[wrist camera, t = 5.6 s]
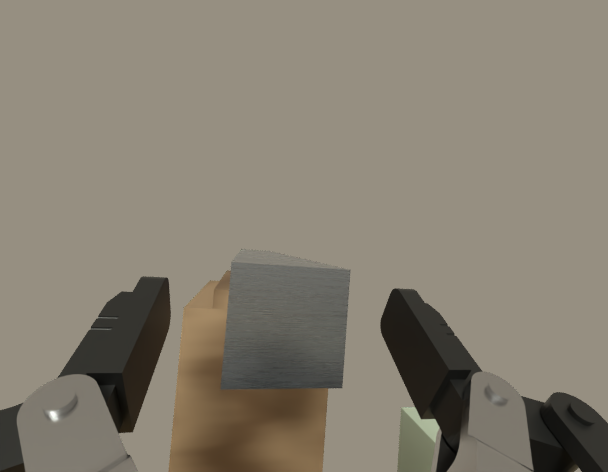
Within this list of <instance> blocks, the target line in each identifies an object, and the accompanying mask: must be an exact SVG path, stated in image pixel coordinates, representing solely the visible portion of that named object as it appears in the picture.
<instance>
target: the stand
mask: <svg viewBox="0 0 608 472" xmlns="http://www.w3.org/2000/svg"><path fill="white" fill-rule="evenodd" d="M230 275H231V271H226V273H225V274H224V276H223V277H222V279H221V280H220V281H209V282H208V283H207V284H206V285H205V286H204V288H203V289H202V290H201V291H200V292H199V293H198V294H197V295H196V296H195V297H194V298H193V299H192V300H191V301H190V302H189V303H188V304H187V305H186V306H185V307H184V313H183V323H182V334H181V344H180V355H179V365H178V376H177V387H176V398H175V408H174V419H173V429H172V441H171V450H170V462H169V472H322V468H323V453H324V438H325V426H326V412H327V397H328V388H309V389H234V390H220V389H221V377H222V366H223V354H224V343H225V332H226V320H227V309H228V297H229V286H230Z"/></svg>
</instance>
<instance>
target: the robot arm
mask: <svg viewBox="0 0 608 472" xmlns="http://www.w3.org/2000/svg"><path fill="white" fill-rule="evenodd" d="M170 314H171V311H170V294H169V282H168V278H162V277H161V278H160V277H141V278H140V280H139V282H138V283H137V285H136V287H135V289H134V290H133V292H121V293H119V294H118V295H117V296H115V297H114V298H113V299H111V300H110V301H109V302H107V304H106V305H105V306H104V308H103V310H102V311H101V313H100V314H99V316H98V319H96V320H95V322H94V323H93V325H92V326H91V330H89V331H88V332H87V334H86V336H85V337H84V338H83V340H82V342H81V343H80V345H79V346H78V348H77V349H76V351H75V352H74V354H73V355H72V357H71V358H70V360H69V361H68V363H67V364H66V366H65V367H64V369H63V370H62V372H61V374H60V375H59V376H58V378H57V379H54V380H52V381H50V382H48V383H46V384H44V385H43V386H41V387H40V388H39V389H37V390H36V391H35V392H33V393H32V394H31V395H30V396H29V397H28V398H27V399H26V400H25V402H24V403H22V404H19V405H16V406H14V407H11V408H7V409H4V410H0V472H138V470H137V468H136V466H135V464H134V462H133V460H132V458H131V456H130V455H128V454H127V453H126V451H125V448H124V446H123V443H122V441H121V439H120V436H119V433H125V432H133V430H134V427H135V424H136V421H137V418H138V416H139V412H140V409H141V407H142V404H143V401H144V398H145V395H146V393H147V390H148V387H149V384H150V381H151V378H152V375H153V373H154V370H155V367H156V364H157V361H158V358H159V356H160V353H161V350H162V347H163V344H164V341H165V339H166V336H167V333H168V329H169V325H170V317H171V315H170ZM381 333H382V336H383V338H384V340H385V342H386V344H387V347H388V349H389V351H390V353H391V355H392V358H393V360H394V362H395V364H396V366H397V368H398V371H399V373H400V375H401V377H402V379H403V381H404V384H405V386H406V388H407V390H408V392H409V395H410V397H411V399H412V401H413V403H414V405H415V408H416V410H417V412H418V414H419V416H420V418H421V419H435V420H436V422H437V424H438V426H439V430H438V432H437V436H436V442H435V449H434V455H433V461H432V468H431V472H574V471H575V470H577V469H578V468H580V470H581V471H582V472H608V423H607V422H606V421H605V420H604V419H603V418H602V417H601V416H600V415H599V414H598V413H597V412H596V411H595V410H594V409H592V408H591V407H590V406H589V405H587V404H586V403H584V402H583V401H581V400H579V399H578V398H576V397H574V396H571V395H569V394H566V393H560V392H559V393H558V392H557V393H553V394H552V395H551V396H550V397H549V398H548V400H547V401H546V402H545V403H543V402H540V401H536V400H533V399H529V398H526V397H523V396H520V394H519V393H518V392H517V391H516V390H515V389H514V387H512V386H511V385H510V384H509V383H508V382H506V381H505V380H503V379H502V378H500V377H498V376H496V375H494V374H491V373H488V372H482V370H481V369H480V368H479V367H478V365H477V364H476V362H475V361H474V360H473V358H472V357H471V355H470V354H469V353H468V351H467V350H466V349H465V347H464V346H463V345H462V343H461V342H460V341H459V339H458V338H457V336H454V332H453V331H452V330H451V328H450V327H448V326H447V323H446V322H445V320H444V319H443V317H442V316H441V315H440V313H438V312H437V311H436V310H435V309H434V308H432V307H431V306H430V305H429V304H426V303H424V301H423V300H422V299H421V297H420V296H419V294H418V293H417V291H415V290H413V289H393V290H392V292H391V294H390V296H389V299H388V302H387V304H386V307H385V310H384V313H383V315H382V318H381Z"/></svg>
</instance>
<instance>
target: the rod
mask: <svg viewBox="0 0 608 472" xmlns="http://www.w3.org/2000/svg"><path fill="white" fill-rule="evenodd" d="M349 282H350V270H348V269H344V268H340V267H336V266H331V265H327V264H323V263H319V262H314V261H310V260H306V259H301V258H297V257H293V256H289V255H284V254H280V253H275V252H271V251H258V250H246V249H241V250H240V252H239V253H238V255H237V256H236V257H235V258H234V260H233V261H232V264H231V275H230V286H229V297H228V309H227V320H226V332H225V343H224V354H223V366H222V377H221V389H220V390H234V389H309V388H342V383H343V368H344V354H345V340H346V325H347V311H348V310H347V309H348V296H349Z"/></svg>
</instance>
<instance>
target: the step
mask: <svg viewBox="0 0 608 472" xmlns="http://www.w3.org/2000/svg"><path fill="white" fill-rule="evenodd" d="M438 430H439V426H438V424H437V422H436V420H435V419H421V418H420V416H419V414H418V412H417V410H416V408H415V407H413V408H412V407H411V408H401V421H400V437H399V454H398V470H397V472H431V468H432V461H433V455H434V449H435V442H436V436H437V432H438Z"/></svg>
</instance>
